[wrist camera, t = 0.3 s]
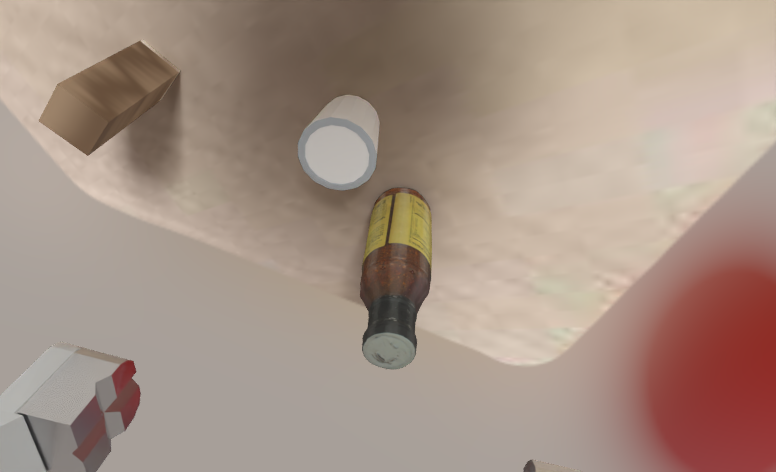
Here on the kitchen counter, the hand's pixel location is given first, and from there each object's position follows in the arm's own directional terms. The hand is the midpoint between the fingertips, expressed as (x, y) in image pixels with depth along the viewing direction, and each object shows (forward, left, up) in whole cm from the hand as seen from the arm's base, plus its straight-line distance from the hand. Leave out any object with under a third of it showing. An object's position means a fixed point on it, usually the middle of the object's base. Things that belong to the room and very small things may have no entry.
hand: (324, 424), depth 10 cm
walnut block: (+8, -25, -39) cm, 47 cm away
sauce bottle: (+20, 0, -39) cm, 44 cm away
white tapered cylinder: (+11, -6, -39) cm, 41 cm away
